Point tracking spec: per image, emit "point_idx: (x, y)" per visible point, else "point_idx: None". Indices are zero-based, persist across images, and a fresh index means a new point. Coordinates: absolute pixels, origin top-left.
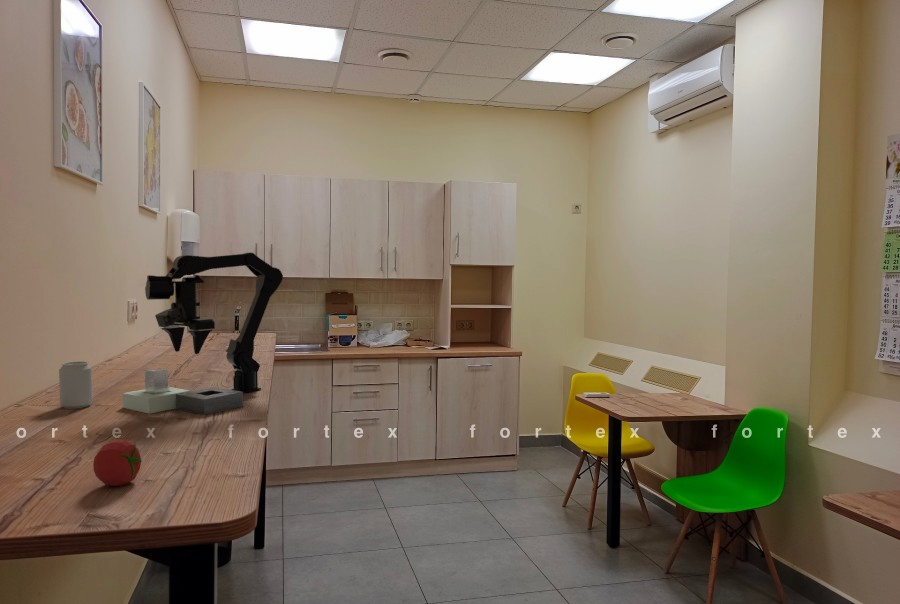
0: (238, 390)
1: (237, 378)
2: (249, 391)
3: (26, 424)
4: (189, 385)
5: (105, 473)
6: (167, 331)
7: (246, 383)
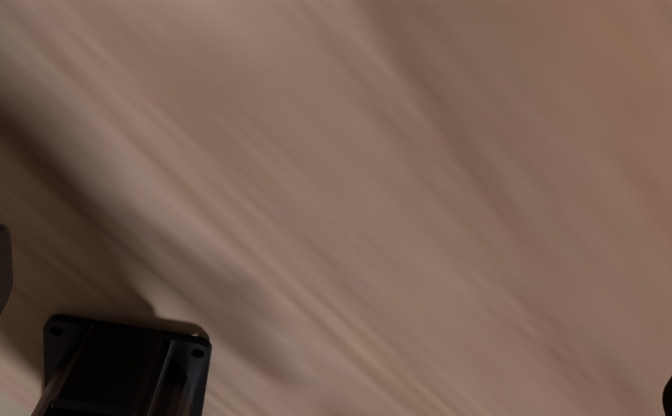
0: (103, 323)
1: (74, 393)
2: (47, 348)
3: None
4: (652, 382)
5: None
6: None
7: (49, 391)
